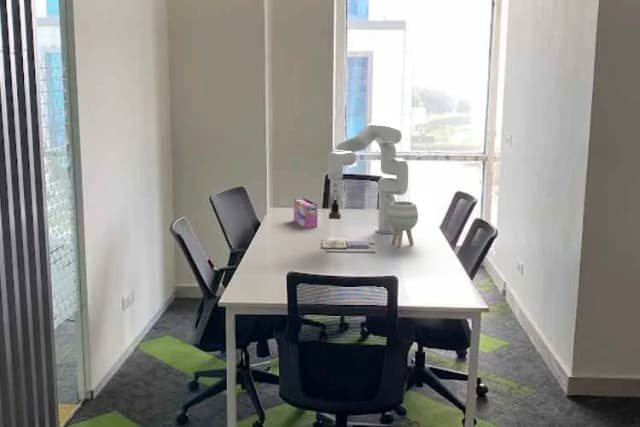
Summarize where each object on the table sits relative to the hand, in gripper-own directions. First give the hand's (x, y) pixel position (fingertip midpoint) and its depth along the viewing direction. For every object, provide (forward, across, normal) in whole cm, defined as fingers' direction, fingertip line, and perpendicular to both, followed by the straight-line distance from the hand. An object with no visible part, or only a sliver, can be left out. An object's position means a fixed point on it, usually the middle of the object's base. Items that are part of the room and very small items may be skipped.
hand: (334, 210), depth 363 cm
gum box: (+19, +55, +17) cm, 60 cm away
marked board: (+19, 0, 0) cm, 19 cm away
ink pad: (+19, 0, -12) cm, 22 cm away
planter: (+19, +3, -36) cm, 40 cm away
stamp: (+4, 0, 0) cm, 4 cm away
